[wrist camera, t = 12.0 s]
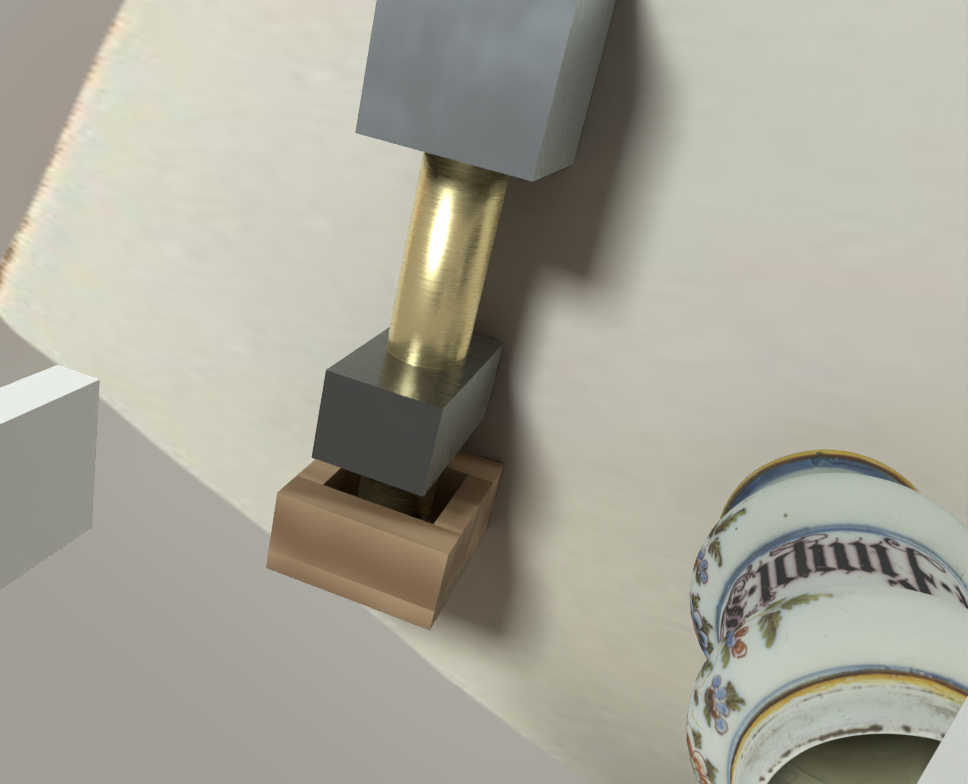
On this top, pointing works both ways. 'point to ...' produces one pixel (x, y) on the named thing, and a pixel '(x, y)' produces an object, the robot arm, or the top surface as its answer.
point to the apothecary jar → (827, 627)
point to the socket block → (382, 537)
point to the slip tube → (421, 349)
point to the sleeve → (484, 79)
